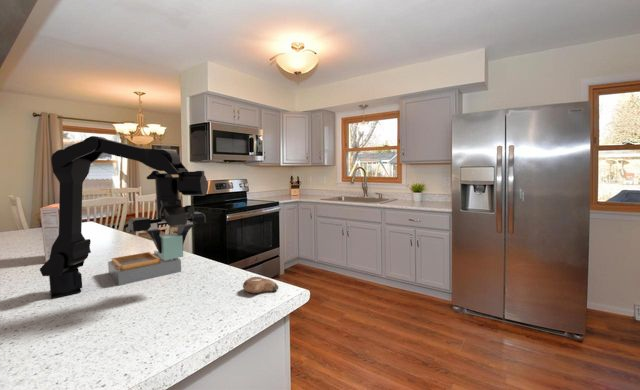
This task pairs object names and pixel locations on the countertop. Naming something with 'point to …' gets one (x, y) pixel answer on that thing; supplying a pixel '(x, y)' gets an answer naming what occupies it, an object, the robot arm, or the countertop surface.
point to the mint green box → (171, 246)
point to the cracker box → (49, 227)
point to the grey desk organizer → (141, 267)
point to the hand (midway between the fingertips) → (170, 251)
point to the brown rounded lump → (259, 285)
